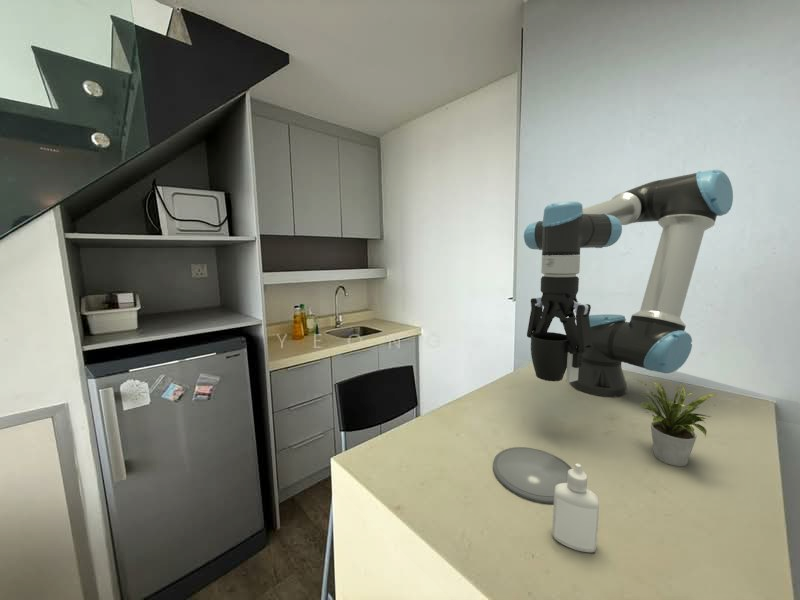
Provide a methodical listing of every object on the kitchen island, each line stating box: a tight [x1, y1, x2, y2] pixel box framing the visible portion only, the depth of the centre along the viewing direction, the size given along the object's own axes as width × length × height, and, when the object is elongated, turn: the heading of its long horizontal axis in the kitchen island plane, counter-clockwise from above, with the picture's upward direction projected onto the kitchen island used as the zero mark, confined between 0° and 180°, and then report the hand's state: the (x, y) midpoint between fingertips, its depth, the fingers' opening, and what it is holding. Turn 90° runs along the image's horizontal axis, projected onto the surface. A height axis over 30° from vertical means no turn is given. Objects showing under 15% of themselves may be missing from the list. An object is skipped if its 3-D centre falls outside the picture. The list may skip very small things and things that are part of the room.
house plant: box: [631, 377, 718, 467], centre depth 65 cm, size 14×14×16 cm
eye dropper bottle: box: [551, 463, 600, 553], centre depth 46 cm, size 4×6×12 cm
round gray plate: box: [492, 446, 573, 505], centre depth 61 cm, size 15×15×1 cm
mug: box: [530, 331, 571, 382], centre depth 73 cm, size 8×12×10 cm
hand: (555, 374), depth 73 cm, fingers closed on mug, 8 cm apart
